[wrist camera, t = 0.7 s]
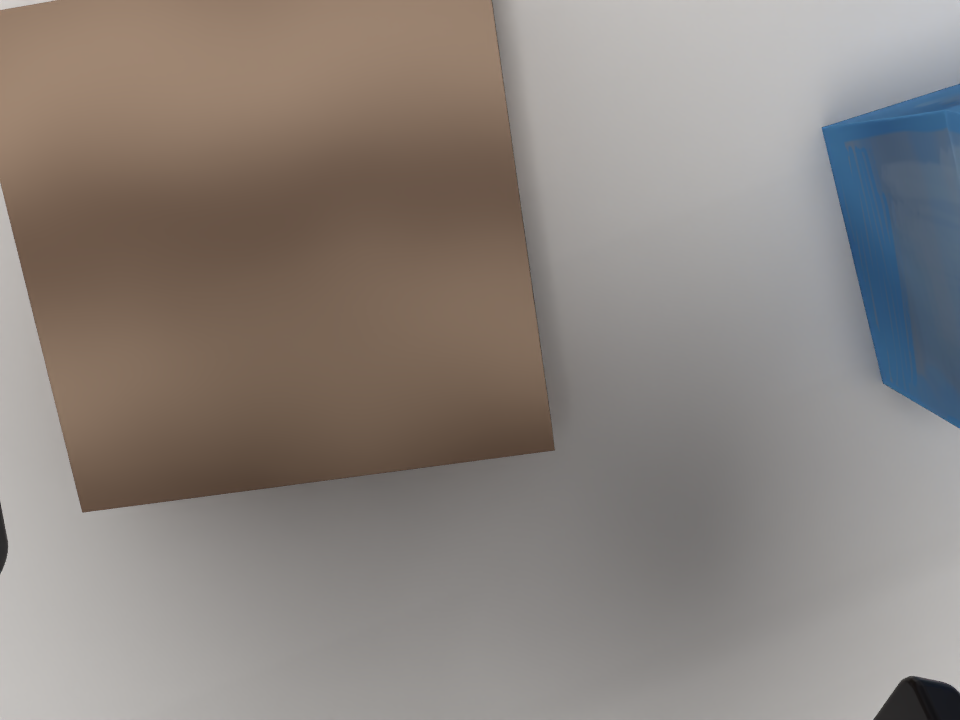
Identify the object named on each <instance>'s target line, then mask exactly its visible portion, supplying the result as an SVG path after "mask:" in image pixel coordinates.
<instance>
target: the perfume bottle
mask: <svg viewBox="0 0 960 720" xmlns="http://www.w3.org/2000/svg"><path fill="white" fill-rule="evenodd" d="M822 130H823V135H824V139H825V143H826V147H827V151H828V156H829V160H830V164H831V168H832V172H833V176H834V181H835V185H836V189H837V193H838V197H839V202H840V206H841V210H842V214H843V218H844V222H845V227H846V231H847V235H848V239H849V243H850V248H851V252H852V256H853V260H854V264H855V268H856V273H857V277H858V281H859V285H860V289H861V294H862V298H863V302H864V306H865V310H866V314H867V319H868V323H869V327H870V331H871V335H872V340H873V344H874V348H875V352H876V356H877V360H878V365H879V369H880V373H881V377H882V381H883V384H885V385H887V386H889V387H890V388H892V389H894V390H895V391H897V392H899V393H900V394H902V395H904V396H906V397H907V398H909V399H911V400H912V401H914V402H916V403H917V404H919V405H921V406H922V407H924V408H926V409H928V410H929V411H931V412H933V413H934V414H936V415H938V416H939V417H941V418H943V419H945V420H946V421H948V422H950V423H951V424H953V425H955V426H956V427H958V428H960V84H958V85H955V86H952V87H948V88H945V89H942V90H939V91H936V92H933V93H930V94H926V95H923V96H920V97H917V98H914V99H911V100H907V101H904V102H901V103H898V104H895V105H892V106H888V107H885V108H882V109H879V110H876V111H873V112H869V113H866V114H863V115H860V116H857V117H854V118H850V119H847V120H844V121H841V122H838V123H835V124H831V125H828V126H825V127H822Z"/></svg>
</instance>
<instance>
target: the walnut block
mask: <svg viewBox="0 0 960 720" xmlns="http://www.w3.org/2000/svg"><path fill="white" fill-rule="evenodd" d="M0 183H1V187H2V191H3V195H4V199H5V203H6V207H7V211H8V215H9V219H10V223H11V227H12V231H13V235H14V239H15V243H16V247H17V251H18V255H19V259H20V263H21V267H22V271H23V275H24V279H25V283H26V287H27V291H28V295H29V299H30V303H31V307H32V312H33V316H34V320H35V324H36V328H37V332H38V336H39V340H40V344H41V348H42V352H43V356H44V360H45V364H46V368H47V372H48V376H49V380H50V384H51V388H52V392H53V396H54V400H55V404H56V408H57V412H58V416H59V420H60V424H61V428H62V432H63V436H64V440H65V444H66V448H67V452H68V456H69V460H70V465H71V469H72V473H73V477H74V481H75V485H76V489H77V493H78V497H79V501H80V505H81V509H82V512H90V511H97V510H105V509H113V508H120V507H128V506H135V505H143V504H151V503H158V502H166V501H173V500H181V499H189V498H196V497H204V496H211V495H219V494H227V493H234V492H242V491H249V490H257V489H265V488H272V487H280V486H287V485H295V484H303V483H310V482H318V481H325V480H333V479H341V478H348V477H356V476H363V475H371V474H379V473H386V472H394V471H401V470H409V469H417V468H424V467H432V466H439V465H447V464H455V463H462V462H470V461H477V460H485V459H493V458H500V457H508V456H515V455H523V454H531V453H538V452H546V451H553V450H555V449H554V440H553V432H552V424H551V417H550V409H549V402H548V395H547V388H546V381H545V374H544V367H543V360H542V353H541V346H540V338H539V331H538V324H537V317H536V310H535V303H534V296H533V289H532V282H531V275H530V267H529V260H528V253H527V246H526V239H525V232H524V225H523V218H522V211H521V203H520V196H519V189H518V182H517V175H516V168H515V161H514V154H513V147H512V140H511V132H510V125H509V118H508V111H507V104H506V97H505V90H504V83H503V76H502V69H501V61H500V54H499V47H498V40H497V33H496V26H495V19H494V12H493V5H492V0H56V1H51V2H45V3H39V4H34V5H28V6H22V7H16V8H11V9H5V10H0Z"/></svg>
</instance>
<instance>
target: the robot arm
mask: <svg viewBox="0 0 960 720" xmlns="http://www.w3.org/2000/svg"><path fill="white" fill-rule="evenodd" d="M7 553H8V540H7V535H6V530H5V524H4V519H3V514H2V509H1V503H0V574H1V571H2V569H3V567H4V565H5V562H6V558H7ZM874 720H960V693H959V692H958V691H957V690H956V689H955V688H954V687H952V686H951V685H949V684H947V683H944V682H941V681H936V680H931V679H926V678H921V677H916V676H909V677H907V678H905V679H903V680H902V681H901V682H900V683H899V684H898V686H897V687H896V688H895V690H894V691H893V693H892V694H891V695H890V697H889V698H888V700H887V701H886V703H885V704H884V705H883V707H882V708H881V710H880V711H879V712H878V714H877V715H876V717H875V718H874Z"/></svg>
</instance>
